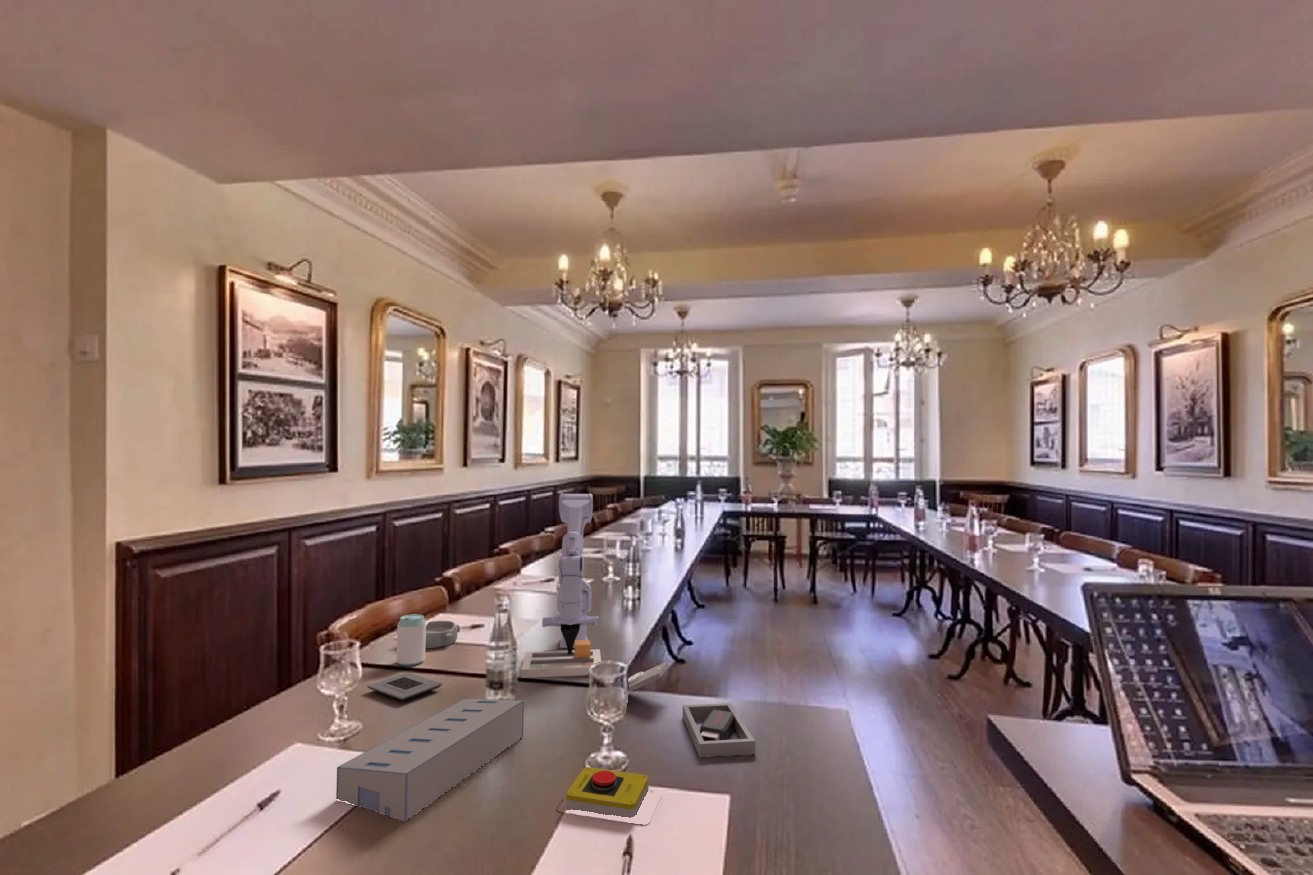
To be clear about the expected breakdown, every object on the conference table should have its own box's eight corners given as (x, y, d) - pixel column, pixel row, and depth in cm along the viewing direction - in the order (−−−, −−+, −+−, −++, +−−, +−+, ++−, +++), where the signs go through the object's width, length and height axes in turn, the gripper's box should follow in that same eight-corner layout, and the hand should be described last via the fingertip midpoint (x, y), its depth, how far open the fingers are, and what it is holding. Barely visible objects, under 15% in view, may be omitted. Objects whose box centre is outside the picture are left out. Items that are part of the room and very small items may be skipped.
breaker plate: (525, 659, 164) (525, 648, 164) (599, 656, 166) (599, 646, 167) (521, 677, 150) (521, 666, 150) (601, 674, 153) (602, 663, 153)
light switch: (613, 681, 143) (665, 657, 140) (624, 705, 142) (677, 681, 139) (601, 695, 135) (656, 669, 132) (612, 720, 134) (668, 694, 131)
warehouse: (464, 726, 123) (464, 689, 124) (523, 739, 118) (523, 700, 118) (335, 803, 96) (337, 754, 96) (405, 825, 90) (406, 773, 90)
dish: (397, 649, 172) (397, 631, 172) (423, 635, 186) (423, 618, 186) (444, 652, 170) (444, 634, 170) (467, 638, 183) (467, 621, 184)
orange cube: (574, 655, 161) (574, 640, 161) (589, 655, 161) (589, 640, 161) (574, 660, 157) (574, 645, 157) (590, 660, 157) (590, 644, 157)
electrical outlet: (442, 692, 141) (442, 682, 141) (401, 707, 132) (402, 696, 133) (407, 681, 148) (407, 671, 148) (366, 694, 140) (367, 684, 140)
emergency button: (576, 757, 102) (662, 769, 99) (576, 783, 102) (662, 796, 99) (554, 785, 93) (648, 799, 90) (554, 814, 93) (648, 830, 90)
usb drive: (736, 723, 124) (736, 710, 125) (721, 749, 113) (721, 734, 113) (711, 719, 126) (712, 706, 126) (695, 744, 115) (695, 730, 115)
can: (418, 666, 157) (419, 620, 158) (391, 666, 157) (392, 620, 158) (429, 658, 164) (430, 613, 165) (403, 657, 164) (404, 613, 165)
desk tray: (682, 717, 128) (682, 705, 128) (730, 715, 129) (730, 703, 129) (699, 757, 110) (699, 744, 111) (755, 754, 112) (755, 740, 112)
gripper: (542, 605, 154) (541, 659, 154) (599, 604, 156) (598, 657, 156) (543, 599, 161) (542, 650, 161) (598, 597, 163) (597, 648, 163)
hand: (570, 653), depth 159 cm, fingers closed
